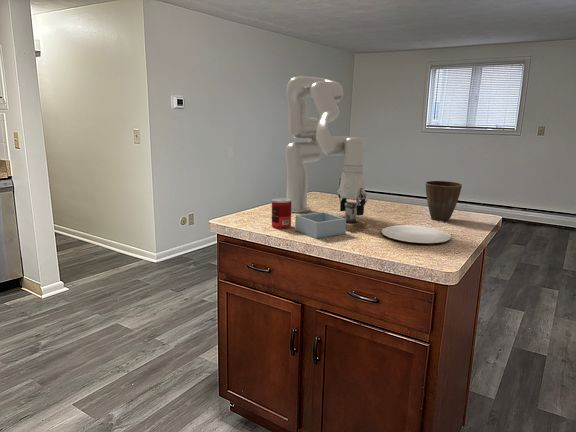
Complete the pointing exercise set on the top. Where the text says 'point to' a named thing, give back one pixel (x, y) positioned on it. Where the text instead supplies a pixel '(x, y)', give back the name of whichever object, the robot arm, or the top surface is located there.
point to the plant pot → (442, 198)
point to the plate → (416, 234)
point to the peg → (350, 212)
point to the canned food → (281, 213)
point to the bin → (320, 225)
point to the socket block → (356, 226)
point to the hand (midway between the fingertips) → (351, 212)
